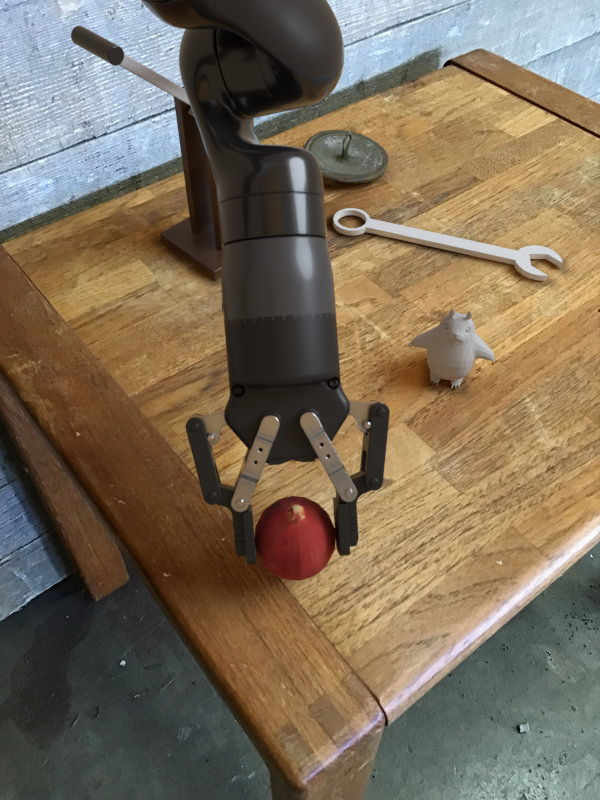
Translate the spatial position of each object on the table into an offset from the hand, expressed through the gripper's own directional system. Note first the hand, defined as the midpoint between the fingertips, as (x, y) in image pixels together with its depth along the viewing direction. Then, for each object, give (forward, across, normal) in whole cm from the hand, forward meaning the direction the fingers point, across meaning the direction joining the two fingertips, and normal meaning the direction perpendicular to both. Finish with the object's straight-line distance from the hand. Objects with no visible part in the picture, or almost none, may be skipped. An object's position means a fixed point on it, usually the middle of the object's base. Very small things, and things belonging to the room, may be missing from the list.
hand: (297, 555), depth 51 cm
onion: (+2, 0, +4) cm, 5 cm away
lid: (-34, +12, +41) cm, 55 cm away
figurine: (-11, +16, +18) cm, 26 cm away
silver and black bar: (-36, -8, +17) cm, 41 cm away
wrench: (-23, +20, +30) cm, 43 cm away
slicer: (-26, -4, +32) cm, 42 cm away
